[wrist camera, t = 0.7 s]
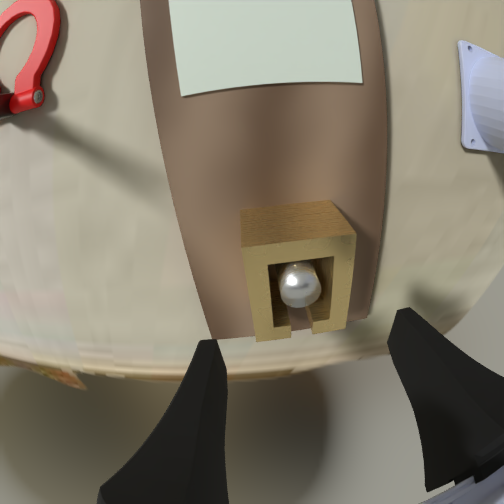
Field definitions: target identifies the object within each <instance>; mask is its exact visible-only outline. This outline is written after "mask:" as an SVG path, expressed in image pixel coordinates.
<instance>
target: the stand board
mask: <svg viewBox="0 0 504 504" xmlns="http://www.w3.org/2000/svg"><path fill="white" fill-rule="evenodd" d="M351 2H352V7H353V12H354V18H355V24H356V31H357V38H358V45H359V53H360V62H361V72H362V83H351V82H291V83H274V84H261V85H251V86H242V87H234V88H227V89H220V90H213V91H207V92H202V93H196V94H191V95H186V96H181V92H180V86H179V79H178V72H177V65H176V58H175V51H174V43H173V35H172V27H171V18H170V9H169V0H140V5H141V17H142V27H143V36H144V45H145V53H146V60H147V68H148V75H149V81H150V88H151V94H152V100H153V106H154V112H155V117H156V123H157V128H158V134H159V139H160V144H161V149H162V154H163V158H164V163H165V168H166V172H167V177H168V181H169V186H170V190H171V194H172V199H173V203H174V207H175V211H176V215H177V219H178V223H179V227H180V231H181V235H182V239H183V242H184V246H185V250H186V253H187V257H188V261H189V264H190V268H191V271H192V275H193V278H194V282H195V285H196V289H197V292H198V295H199V298H200V302H201V305H202V308H203V311H204V315H205V318H206V321H207V324H208V327H209V330H210V333H211V336H212V339H228V338H239V337H248V336H255V330H254V324H253V318H252V312H251V306H250V300H249V294H248V287H247V281H246V275H245V269H244V262H243V256H242V250H241V226H240V210H243V209H251V208H259V207H268V206H276V205H285V204H294V203H304V202H313V201H324V200H331V202H332V203H333V204H334V205H335V206H336V208H337V209H338V210H339V211H340V213H341V214H342V215H343V217H344V218H345V219H346V220H347V222H348V223H349V224H350V226H351V227H352V228H353V229H354V231H355V232H356V233H357V235H356V248H355V258H354V268H353V277H352V285H351V293H350V300H349V307H348V314H347V321H346V322H349V321H354V320H359V319H364V318H367V315H368V311H369V306H370V301H371V296H372V290H373V285H374V279H375V274H376V267H377V261H378V254H379V247H380V239H381V231H382V222H383V212H384V201H385V187H386V168H387V103H386V85H385V72H384V62H383V52H382V44H381V37H380V30H379V24H378V18H377V13H376V7H375V2H374V0H351ZM310 260H311V262H312V264H313V267H314V259H310ZM267 266H268V276H269V281H273V280H278V279H277V274H276V270H275V265H274V264H269V265H267ZM287 310H288V315H289V319H290V324H291V331H295V330H302V329H309V328H311V327H310V323H309V319H308V316H307V312H306V309H305V307H301V308H295V307H290V306H288V305H287Z"/></svg>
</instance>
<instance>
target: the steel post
mask: <svg viewBox="0 0 504 504" xmlns="http://www.w3.org/2000/svg"><path fill="white" fill-rule="evenodd" d="M274 265H275V270H276V274H277V279H278V284H279V289H280V294H281V298H282V300H283V302H284V303H285V304H286V305H288V306H290V307H295V308H301V307H305V306H308V305H310V304H312V303H313V302H315V301H316V300H317V299H318V297H319V296H320V293H321V285H320V282H319V280H318V277H317V275H316V272H315V269H314V267H313V264H312V262H311V260H310V259H308V260H300V261H292V262H285V263H277V264H274Z"/></svg>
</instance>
